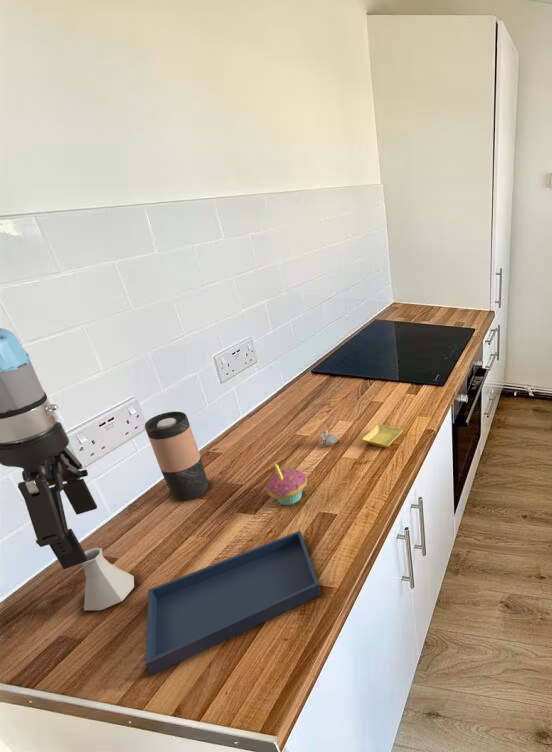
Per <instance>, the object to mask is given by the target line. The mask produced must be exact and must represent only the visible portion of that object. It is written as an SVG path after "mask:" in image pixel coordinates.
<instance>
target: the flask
mask: <svg viewBox="0 0 552 752" xmlns="http://www.w3.org/2000/svg"><path fill="white" fill-rule="evenodd" d="M84 552H85V554H86V556H87V558H88V559H87V562H84V563H81V564H79V566H80V565H81V566H82V568H83V570H84V575H85V590H84V591H85V592H84V601H83V602H84V603H83V611H103V610H105V609H107V608H109V607H112V606H114V605H116V604H119V603H121V602H123V601H124V600H125V599H126V597H128V596H129V594H130V593H131V591H132V590H133V589H134V588H135V577H134V575H133V574H130V573H128V572H127V571H125V570H123V569H120V568H119V567H117V566H115V565H114V564H112V563H110V562H109V560H107V559H106V558H105V557H104V555H103V548H102V547H99V548H98V547H93V548H91V549H87V550H86V551H85V550H84Z"/></svg>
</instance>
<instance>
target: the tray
mask: <svg viewBox="0 0 552 752" xmlns="http://www.w3.org/2000/svg"><path fill="white" fill-rule="evenodd" d="M320 588H321V587H320V584H319V581H318V578H317V575H316V572H315V569H314V566H313V563H312V561H311V557H310V555H309V552H308V549H307V546H306V543H305V540H304V537H303V534H302V531H301V530H298V531H295V532H293V533H291V534H287V535H285V536H283V537H280V538H278V539H275V540H272V541H270V542H268V543H265V544H262V545H259V546H257V547H254V548H252V549H249V550H246V551H244V552H241V553H239V554H237V555H234V556H231V557H229V558H226V559H223V560H221V561H219V562H216V563H214V564H211V565H209V566H206V567H203V568H200V569H198V570H195V571H194V572H191V573H188V574H185V575H181V576H180V577H178V578H175V579H172V580H170V581H167V582H165V583H162V584H160V585H157V586H155V587H151V588H149V589H148V591H147V593H148V594H147V615H146V616H147V618H146V641H145V643H146V646H145V666H146V668H147V670H148V672H149V673H150V675H151V676H153V675H155V674H158V673H160V672H162V671H164V670H166V669H168V668H171V667H172V666H174V665H176V664H179V663H181V662H183V661H185V660H187V659H189V658H191V657H193V656H196V655H198V654H200V653H202V652H204V651H206V650H209V649H211V648H213V647H214V646H217V645H219V644H221V643H223V642H225V641H228V640H229V639H231V638H234V637H236V636H238V635H240V634H241V633H243V632H246V631H248V630H250V629H253V628H254V627H257V626H259V625H261V624H263V623H265V622H268V621H270V620H272V619H273V618H276V617H277V616H280V615H281V614H284V613H286V612H288V611H290V610H292V609H295V608H297V607H299V606H301V605H302V604H305V603H307V602H309V601H311V600H313V599H315V598H317V597H319V596H321V595H322V594H321V589H320Z"/></svg>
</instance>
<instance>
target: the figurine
mask: <svg viewBox="0 0 552 752" xmlns="http://www.w3.org/2000/svg"><path fill="white" fill-rule="evenodd" d="M328 430H329V427H328V425H327V424H326V425H325V428H324V429H323V430H322V431H321V433H320V435H319V439H318V443H319V445H320V446H321V447H322V448H325V447H331V446H333V445H335V444H336V443H337V441H338V440H337V436H336V435H335V434H334V433H329V431H328Z"/></svg>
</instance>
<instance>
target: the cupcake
mask: <svg viewBox="0 0 552 752" xmlns="http://www.w3.org/2000/svg"><path fill="white" fill-rule="evenodd" d="M273 465H274V468H275V471H276V472H275V473H274V474H273V475H272V476H270V477H269V479H268V481H267V482H266V485H265V487H266V488H265V489H266V492H267V494H268V496H269V497H271V498H272V499H276V500H277V501H278V502H279V504H281V505H283V506H290V505H291V506H292V505H294V504H296V503H297V502H299V501H300V500H301V498H302V494H303V490H304V489H305V488H306V486H307V485H308V478H307V475H306V474H305V472H304V471H302V470H300V469H297V468H286V469H283V470H281V469H280V467H279V464H276V462H274V464H273Z"/></svg>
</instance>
